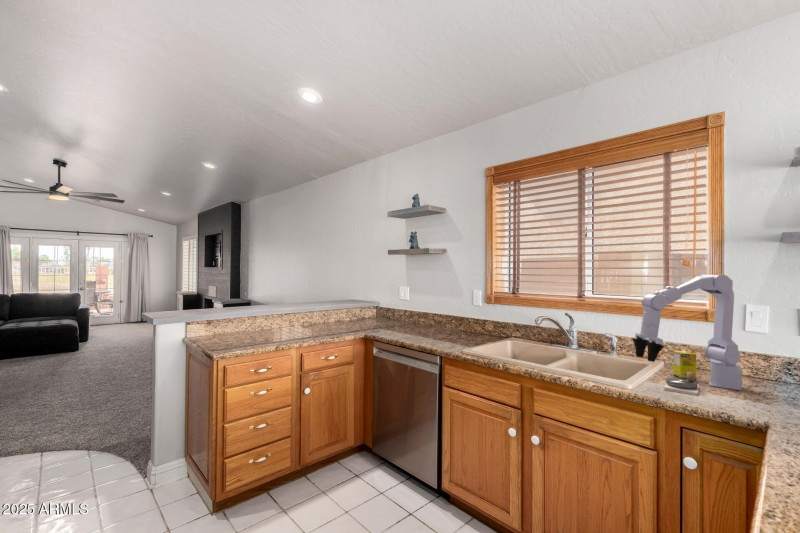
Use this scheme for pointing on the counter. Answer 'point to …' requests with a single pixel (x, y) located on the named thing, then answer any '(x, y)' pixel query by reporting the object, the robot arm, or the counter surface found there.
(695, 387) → the crank wheel
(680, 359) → the supplement box
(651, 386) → the counter surface
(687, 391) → the base board
